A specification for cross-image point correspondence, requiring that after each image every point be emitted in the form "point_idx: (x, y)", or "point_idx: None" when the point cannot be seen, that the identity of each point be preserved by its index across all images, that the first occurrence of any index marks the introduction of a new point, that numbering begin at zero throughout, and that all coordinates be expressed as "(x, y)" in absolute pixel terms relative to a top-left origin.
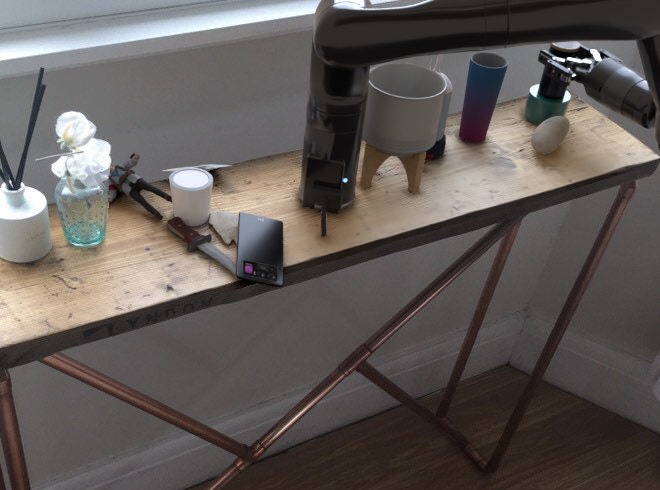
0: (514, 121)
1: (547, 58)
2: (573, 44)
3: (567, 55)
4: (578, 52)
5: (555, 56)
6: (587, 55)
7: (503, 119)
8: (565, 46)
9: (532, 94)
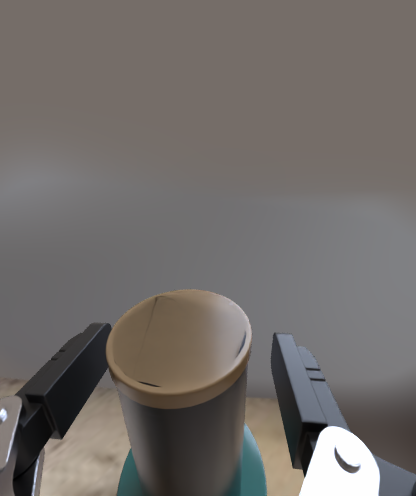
0: (104, 483)
1: (29, 380)
2: (205, 348)
3: (130, 408)
4: (279, 383)
5: (41, 391)
6: (305, 448)
7: (97, 453)
8: (143, 347)
9: None
